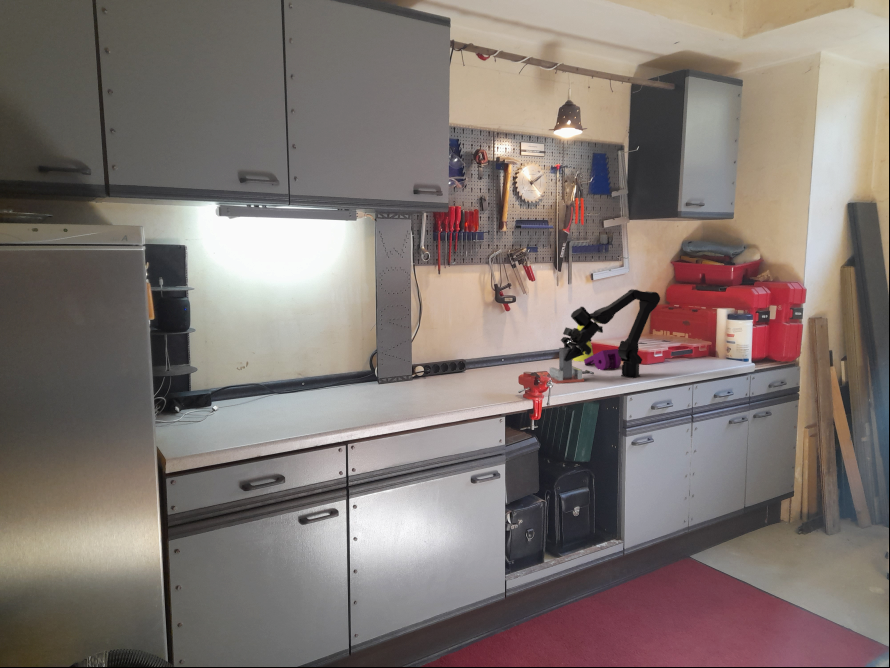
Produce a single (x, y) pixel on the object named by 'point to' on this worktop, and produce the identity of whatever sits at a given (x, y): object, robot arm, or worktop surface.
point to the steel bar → (564, 365)
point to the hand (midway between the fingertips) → (563, 359)
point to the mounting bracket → (605, 359)
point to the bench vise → (576, 377)
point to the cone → (582, 357)
